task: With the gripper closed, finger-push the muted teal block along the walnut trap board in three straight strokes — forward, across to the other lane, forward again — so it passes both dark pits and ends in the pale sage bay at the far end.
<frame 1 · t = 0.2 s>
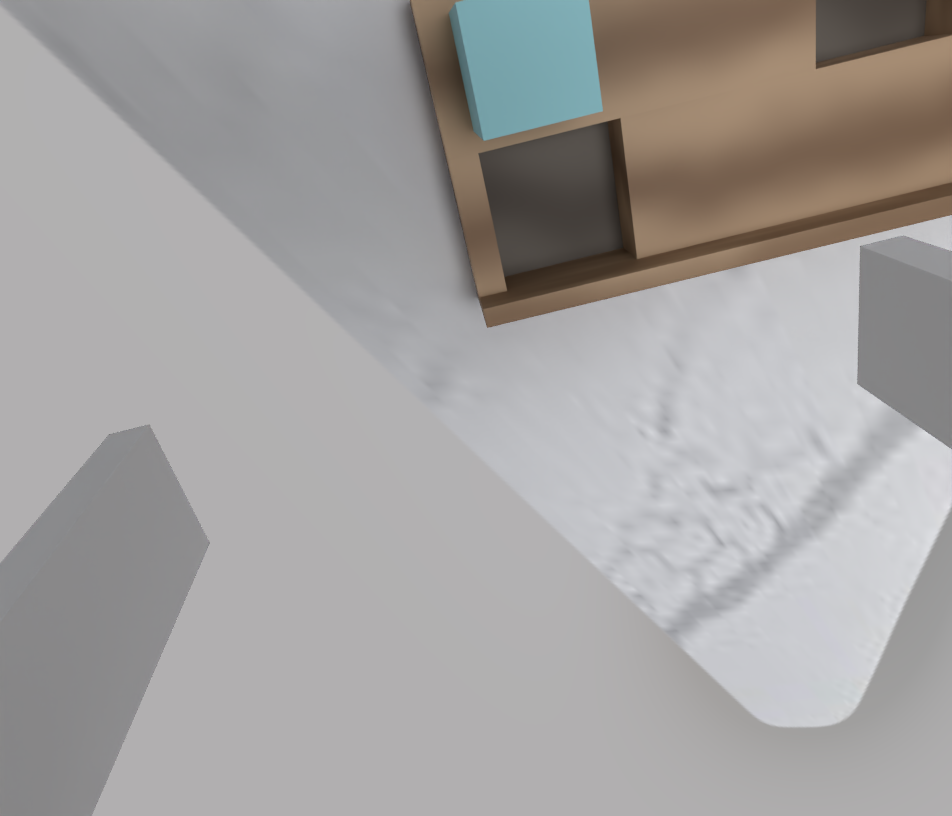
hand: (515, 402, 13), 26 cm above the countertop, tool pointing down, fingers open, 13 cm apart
teal block: (514, 60, 31), point 3 cm above the countertop, touching trap board
trap board: (746, 79, 35), on the countertop
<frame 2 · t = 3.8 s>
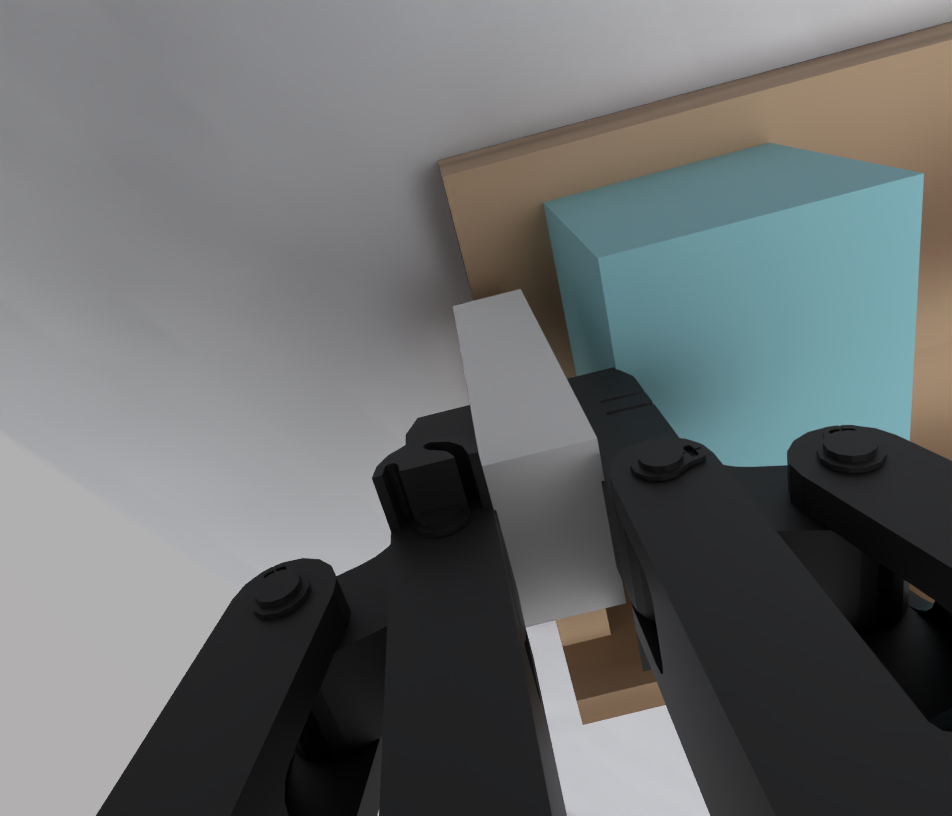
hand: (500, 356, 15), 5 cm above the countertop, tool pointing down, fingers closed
teal block: (668, 282, 16), point 3 cm above the countertop, touching gripper, trap board
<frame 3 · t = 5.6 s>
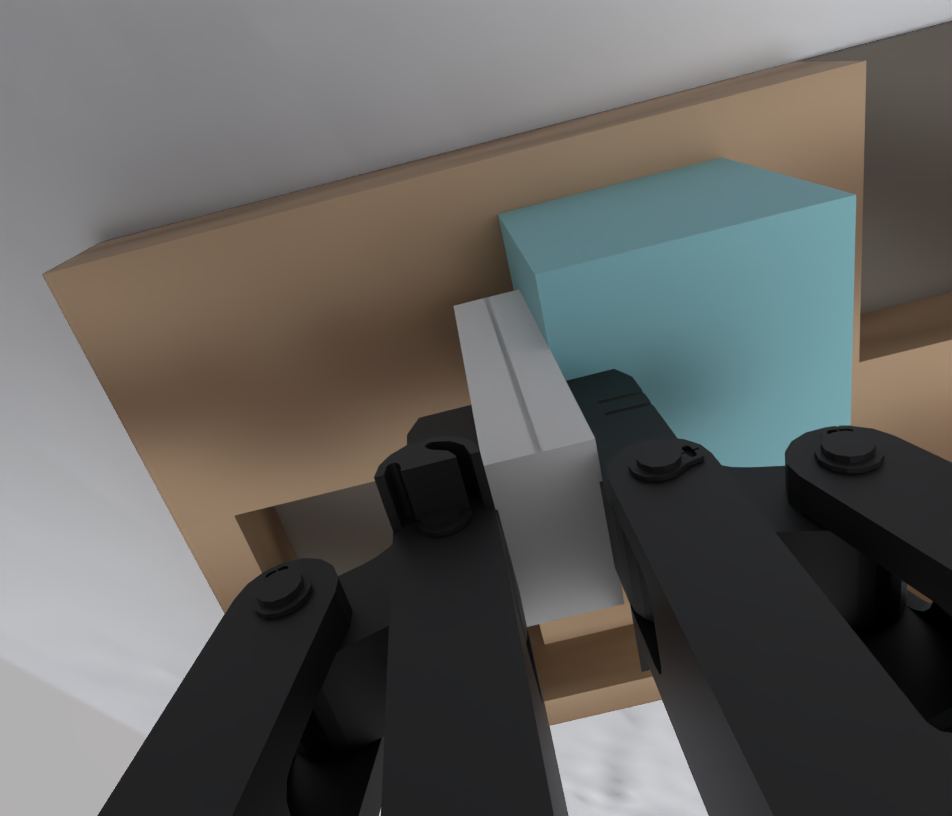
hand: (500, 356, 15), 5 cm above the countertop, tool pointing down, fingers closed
teal block: (623, 293, 16), point 3 cm above the countertop, touching gripper, trap board
trap board: (732, 339, 20), on the countertop
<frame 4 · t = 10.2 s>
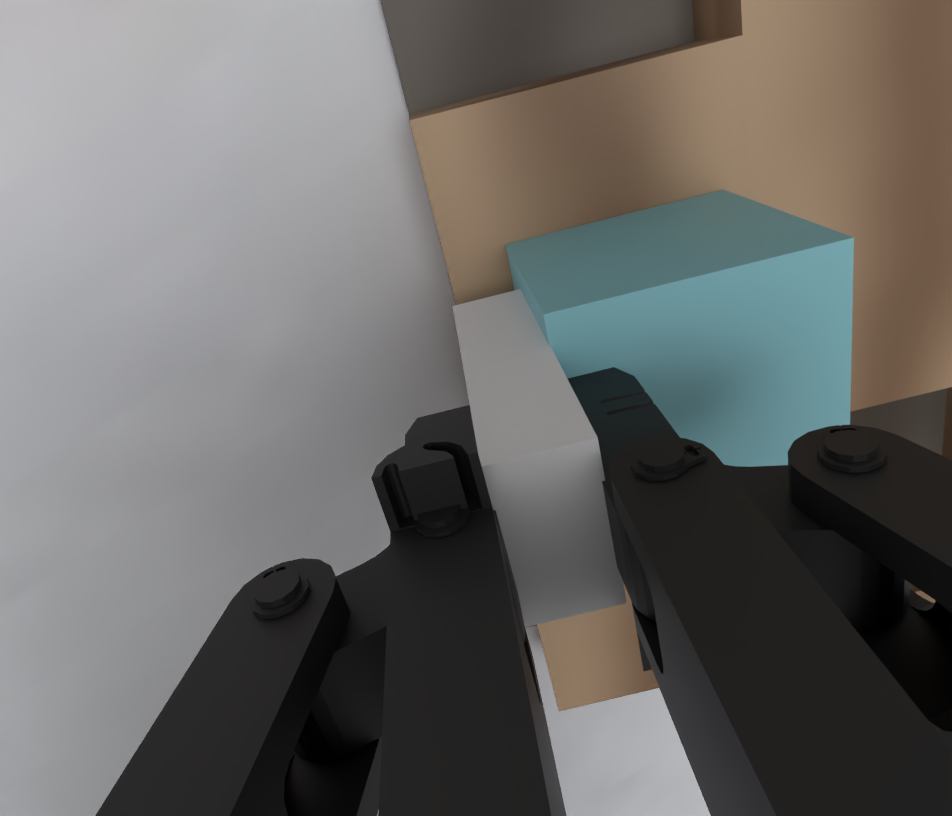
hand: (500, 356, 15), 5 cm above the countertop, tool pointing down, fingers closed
teal block: (628, 320, 16), point 3 cm above the countertop, touching gripper
trap board: (695, 128, 18), on the countertop
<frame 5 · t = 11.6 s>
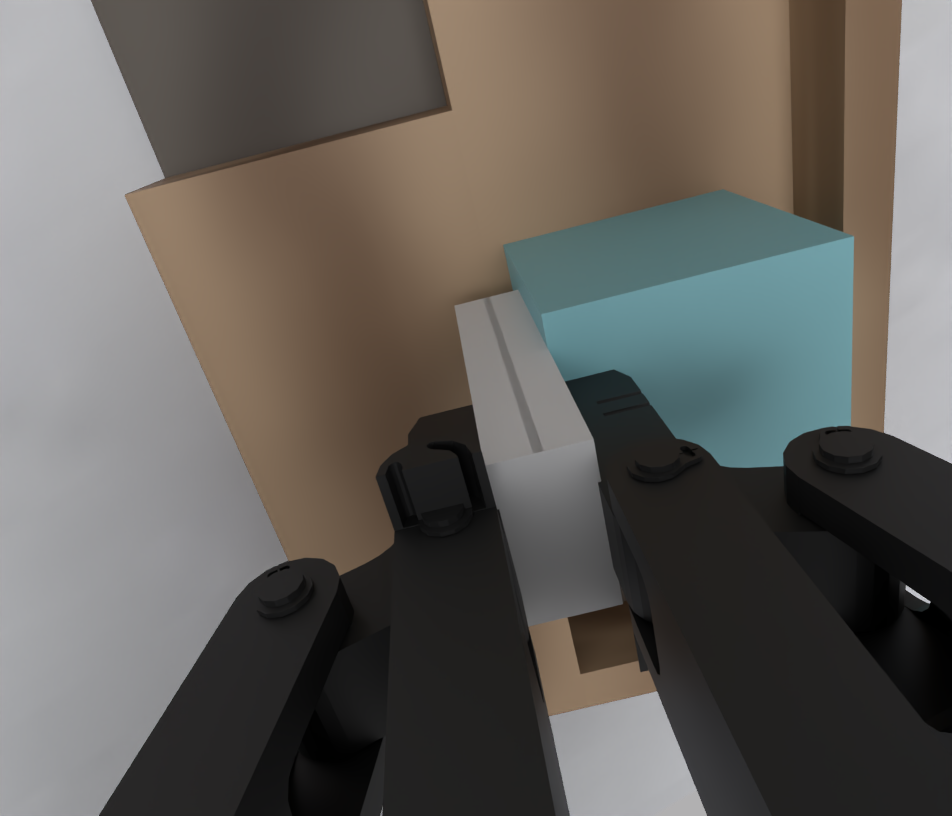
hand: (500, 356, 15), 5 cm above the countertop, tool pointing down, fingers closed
teal block: (627, 321, 16), point 3 cm above the countertop, touching gripper, trap board
trap board: (465, 187, 18), on the countertop
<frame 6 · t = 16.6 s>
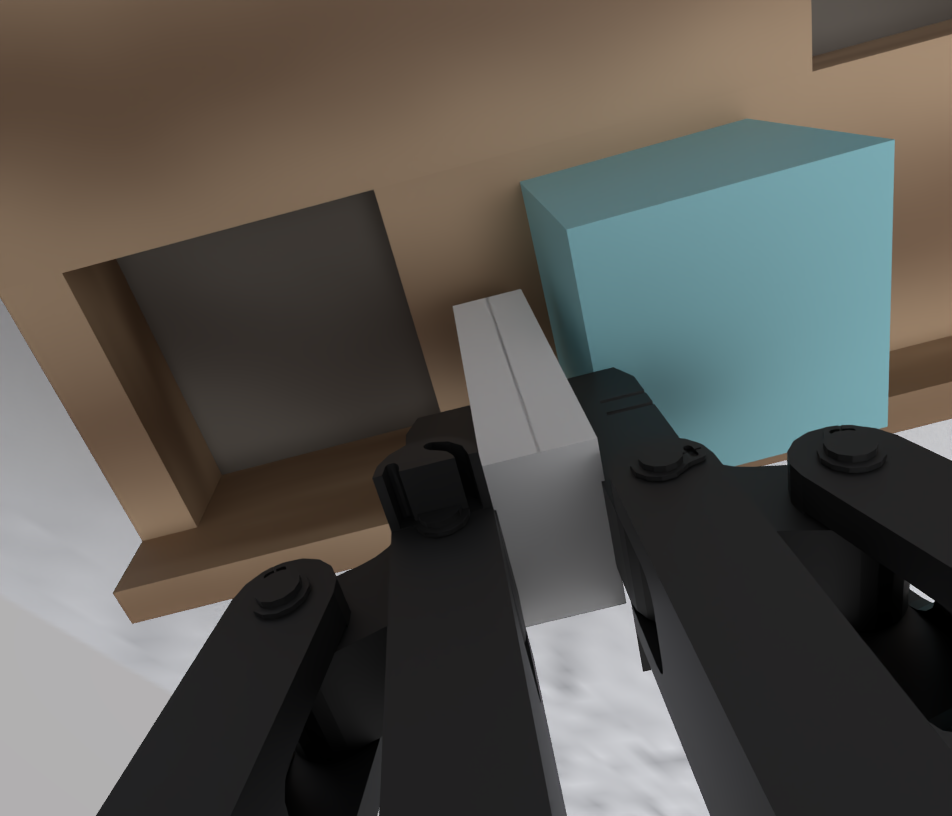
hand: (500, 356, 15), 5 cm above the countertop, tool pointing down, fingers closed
teal block: (648, 261, 16), point 3 cm above the countertop, touching trap board
trap board: (670, 92, 17), on the countertop
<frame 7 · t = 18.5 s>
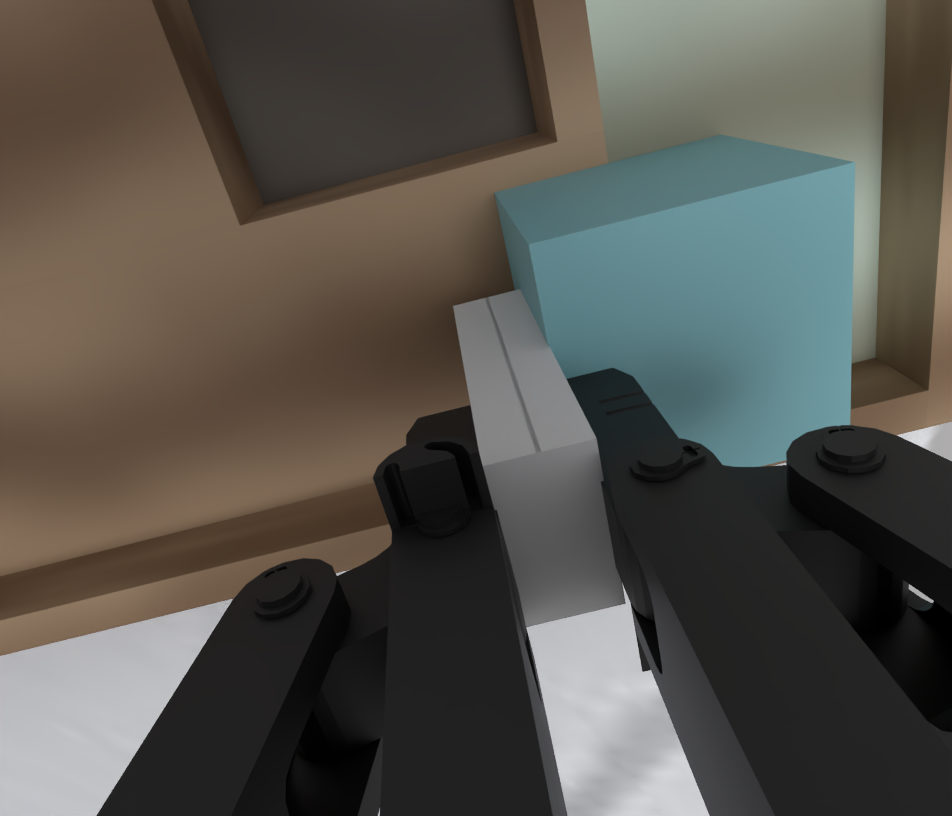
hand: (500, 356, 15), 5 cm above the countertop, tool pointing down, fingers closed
teal block: (622, 274, 16), point 3 cm above the countertop, touching gripper
trap board: (191, 221, 17), on the countertop
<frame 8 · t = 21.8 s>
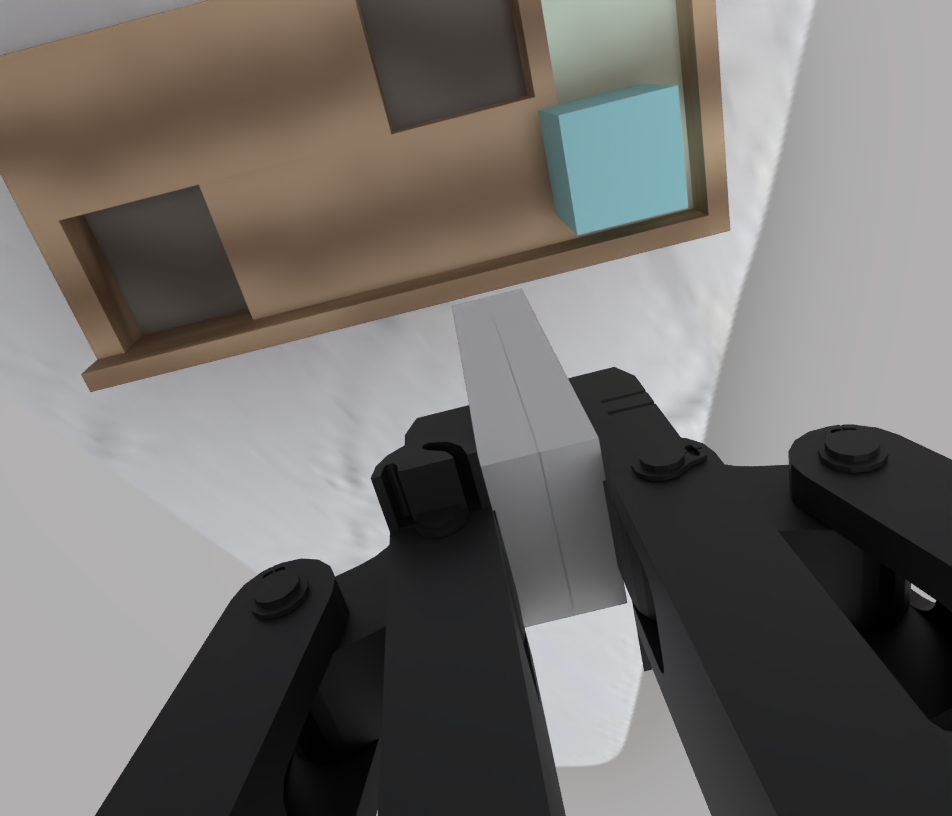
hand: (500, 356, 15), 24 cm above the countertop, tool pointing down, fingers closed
teal block: (597, 151, 34), point 3 cm above the countertop, touching trap board
trap board: (355, 139, 35), on the countertop
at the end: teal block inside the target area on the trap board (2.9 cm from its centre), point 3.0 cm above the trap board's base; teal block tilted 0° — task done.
